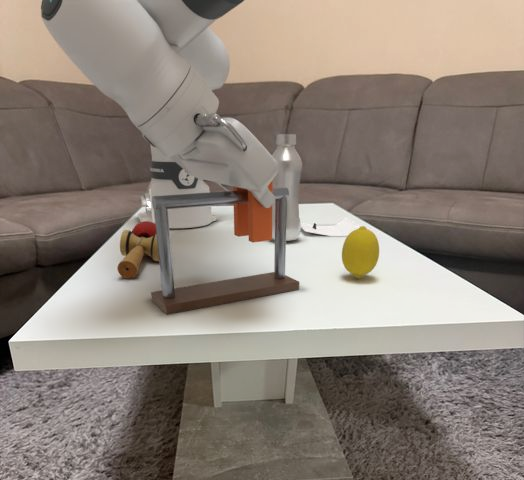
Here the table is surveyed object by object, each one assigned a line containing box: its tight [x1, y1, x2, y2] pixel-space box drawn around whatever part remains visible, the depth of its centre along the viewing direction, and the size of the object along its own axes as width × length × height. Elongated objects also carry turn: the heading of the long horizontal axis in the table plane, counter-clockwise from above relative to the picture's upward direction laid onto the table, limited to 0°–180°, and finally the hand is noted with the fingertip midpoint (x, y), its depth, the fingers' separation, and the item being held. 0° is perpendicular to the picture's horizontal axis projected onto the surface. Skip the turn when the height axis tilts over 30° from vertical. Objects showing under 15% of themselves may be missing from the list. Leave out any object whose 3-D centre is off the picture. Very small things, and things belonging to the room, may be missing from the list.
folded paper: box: [300, 216, 362, 237], centre depth 103 cm, size 12×12×2 cm
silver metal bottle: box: [271, 133, 303, 242], centre depth 90 cm, size 6×7×20 cm
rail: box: [150, 187, 300, 315], centre depth 61 cm, size 6×20×14 cm, turn 120°
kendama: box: [117, 221, 159, 280], centre depth 77 cm, size 8×6×18 cm
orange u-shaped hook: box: [233, 180, 273, 243], centre depth 60 cm, size 5×3×9 cm, turn 30°
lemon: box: [341, 225, 380, 279], centre depth 69 cm, size 6×6×8 cm
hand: (256, 200), depth 60 cm, fingers closed on orange u-shaped hook, 5 cm apart
